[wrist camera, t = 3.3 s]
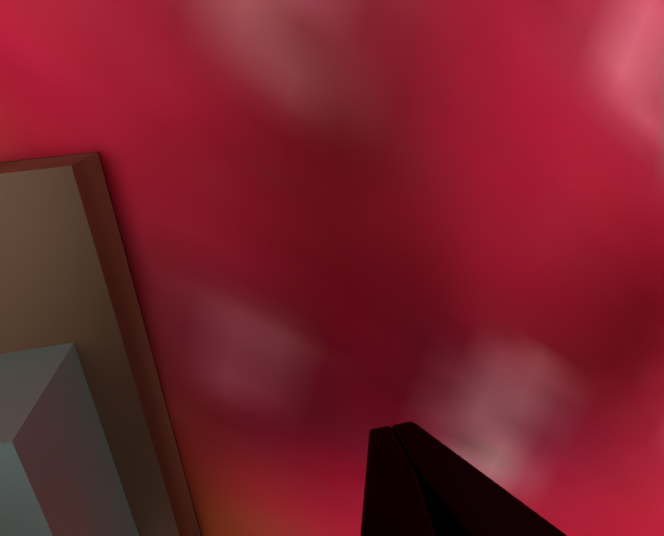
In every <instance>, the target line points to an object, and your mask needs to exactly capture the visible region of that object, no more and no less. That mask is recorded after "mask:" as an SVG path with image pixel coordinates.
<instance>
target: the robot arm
mask: <svg viewBox="0 0 664 536" xmlns="http://www.w3.org/2000/svg"><path fill="white" fill-rule="evenodd" d="M361 536H567V535H565V534H564V533H563V532H561V531H560V530H559V529H557V528H556V527H555V526H553V525H552V524H551V523H549V522H548V521H547V520H545V519H544V518H542V517H541V516H540V515H538V514H537V513H536V512H534V511H533V510H532V509H530V508H529V507H528V506H526V505H525V504H524V503H522V502H521V501H520V500H518V499H517V498H515V497H514V496H513V495H511V494H510V493H509V492H507V491H506V490H505V489H503V488H502V487H501V486H499V485H498V484H497V483H495V482H494V481H493V480H491V479H490V478H488V477H487V476H486V475H484V474H483V473H482V472H480V471H479V470H478V469H476V468H475V467H474V466H472V465H471V464H470V463H468V462H467V461H466V460H464V459H463V458H461V457H460V456H459V455H457V454H456V453H455V452H453V451H452V450H451V449H449V448H448V447H447V446H445V445H444V444H443V443H441V442H440V441H439V440H437V439H436V438H434V437H433V436H432V435H430V434H429V433H428V432H426V431H425V430H424V429H422V428H421V427H420V426H418V425H417V424H416V423H414V422H405V423H400V424H395V425H393V426H392V428H391V427H389V426H384V427H379V428H374V429H371V430H370V432H369V442H368V454H367V465H366V477H365V489H364V501H363V513H362V525H361Z"/></svg>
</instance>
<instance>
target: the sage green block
mask: <svg viewBox="0 0 664 536" xmlns="http://www.w3.org/2000/svg"><path fill="white" fill-rule="evenodd" d="M0 536H139V534H138V531H137V528H136V525H135V522H134V519H133V516H132V513H131V511H130V508H129V505H128V502H127V499H126V496H125V493H124V490H123V487H122V484H121V481H120V478H119V475H118V472H117V469H116V466H115V463H114V460H113V457H112V454H111V451H110V449H109V446H108V443H107V440H106V437H105V434H104V431H103V428H102V425H101V422H100V419H99V416H98V413H97V410H96V407H95V404H94V401H93V398H92V395H91V392H90V390H89V387H88V384H87V381H86V378H85V375H84V372H83V369H82V366H81V363H80V360H79V357H78V354H77V351H76V348H75V345H74V343H68V344H62V345H55V346H49V347H43V348H36V349H30V350H24V351H17V352H11V353H5V354H0Z"/></svg>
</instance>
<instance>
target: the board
mask: <svg viewBox="0 0 664 536" xmlns="http://www.w3.org/2000/svg"><path fill="white" fill-rule="evenodd" d="M68 343H74V345H75V348H76V351H77V354H78V357H79V360H80V363H81V366H82V369H83V372H84V375H85V378H86V381H87V384H88V387H89V390H90V392H91V395H92V398H93V401H94V404H95V407H96V410H97V413H98V416H99V419H100V422H101V425H102V428H103V431H104V434H105V437H106V440H107V443H108V446H109V449H110V451H111V454H112V457H113V460H114V463H115V466H116V469H117V472H118V475H119V478H120V481H121V484H122V487H123V490H124V493H125V496H126V499H127V502H128V505H129V508H130V511H131V513H132V516H133V519H134V522H135V525H136V528H137V531H138V534H139V536H201V534H200V530H199V527H198V523H197V519H196V515H195V512H194V508H193V504H192V501H191V497H190V493H189V489H188V486H187V482H186V478H185V474H184V471H183V467H182V463H181V460H180V456H179V452H178V448H177V445H176V441H175V437H174V434H173V430H172V426H171V422H170V419H169V415H168V411H167V408H166V404H165V400H164V396H163V393H162V389H161V385H160V382H159V378H158V374H157V370H156V367H155V363H154V359H153V356H152V352H151V348H150V344H149V341H148V337H147V333H146V329H145V326H144V322H143V318H142V315H141V311H140V307H139V303H138V300H137V296H136V292H135V289H134V285H133V281H132V277H131V274H130V270H129V266H128V263H127V259H126V255H125V251H124V248H123V244H122V240H121V237H120V233H119V229H118V225H117V222H116V218H115V214H114V210H113V207H112V203H111V199H110V196H109V192H108V188H107V184H106V181H105V177H104V173H103V170H102V166H101V162H100V158H99V155H98V152H91V153H82V154H72V155H63V156H54V157H45V158H36V159H27V160H18V161H8V162H0V354H5V353H11V352H17V351H24V350H30V349H36V348H43V347H49V346H55V345H62V344H68Z"/></svg>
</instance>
